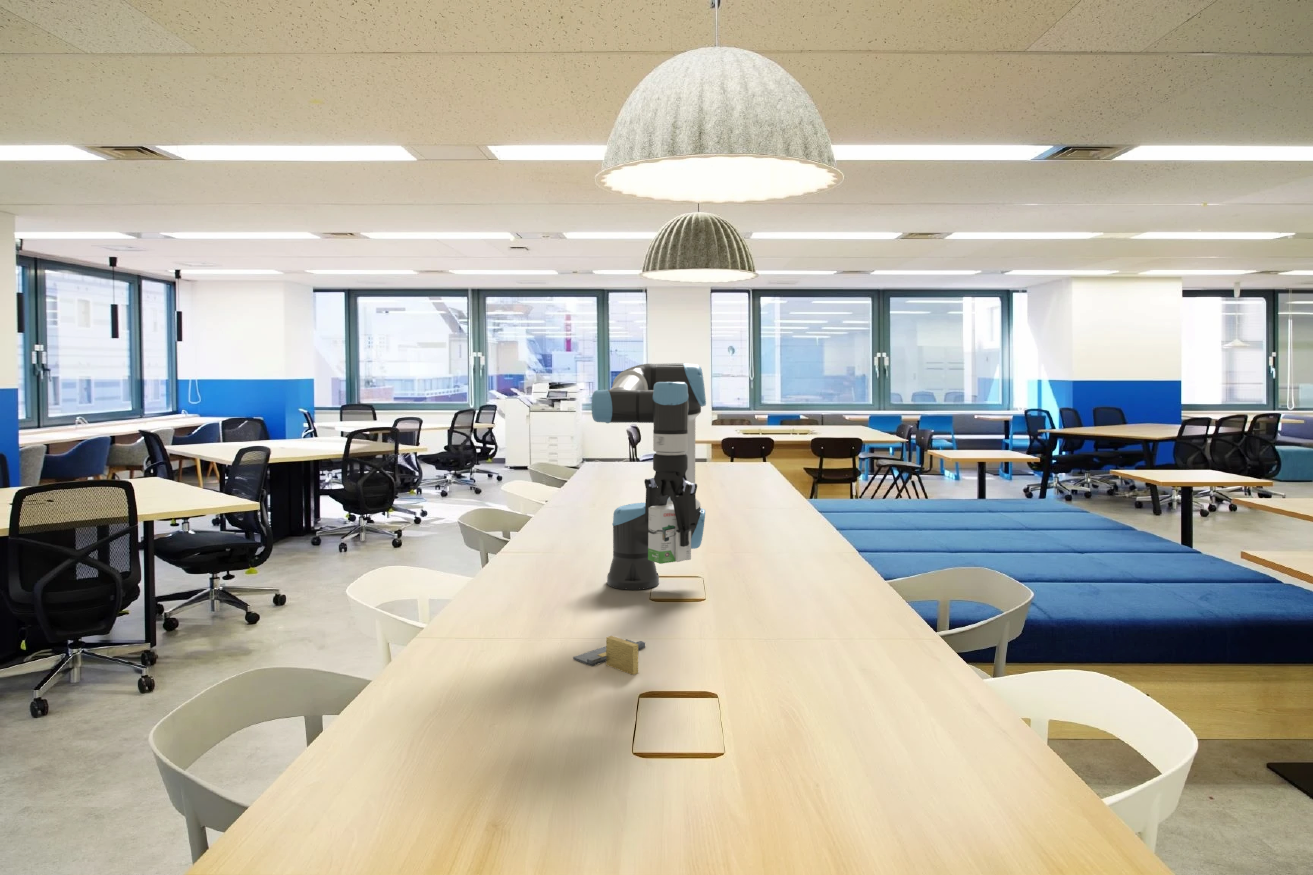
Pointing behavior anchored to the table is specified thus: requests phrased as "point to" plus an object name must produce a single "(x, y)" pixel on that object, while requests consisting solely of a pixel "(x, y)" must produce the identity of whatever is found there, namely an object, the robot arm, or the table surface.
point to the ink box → (663, 535)
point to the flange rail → (615, 655)
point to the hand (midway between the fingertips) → (670, 558)
